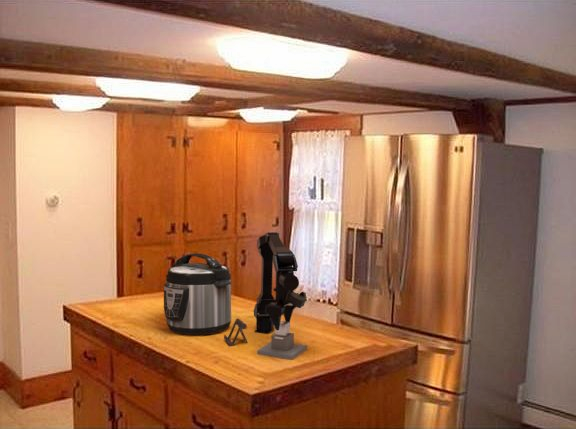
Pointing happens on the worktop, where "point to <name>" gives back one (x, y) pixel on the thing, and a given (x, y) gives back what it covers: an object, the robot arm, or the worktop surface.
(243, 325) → the portable electronic device stand
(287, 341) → the grey socket plate
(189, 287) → the pressure cooker
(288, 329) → the steel column
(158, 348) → the worktop surface
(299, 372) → the worktop surface
